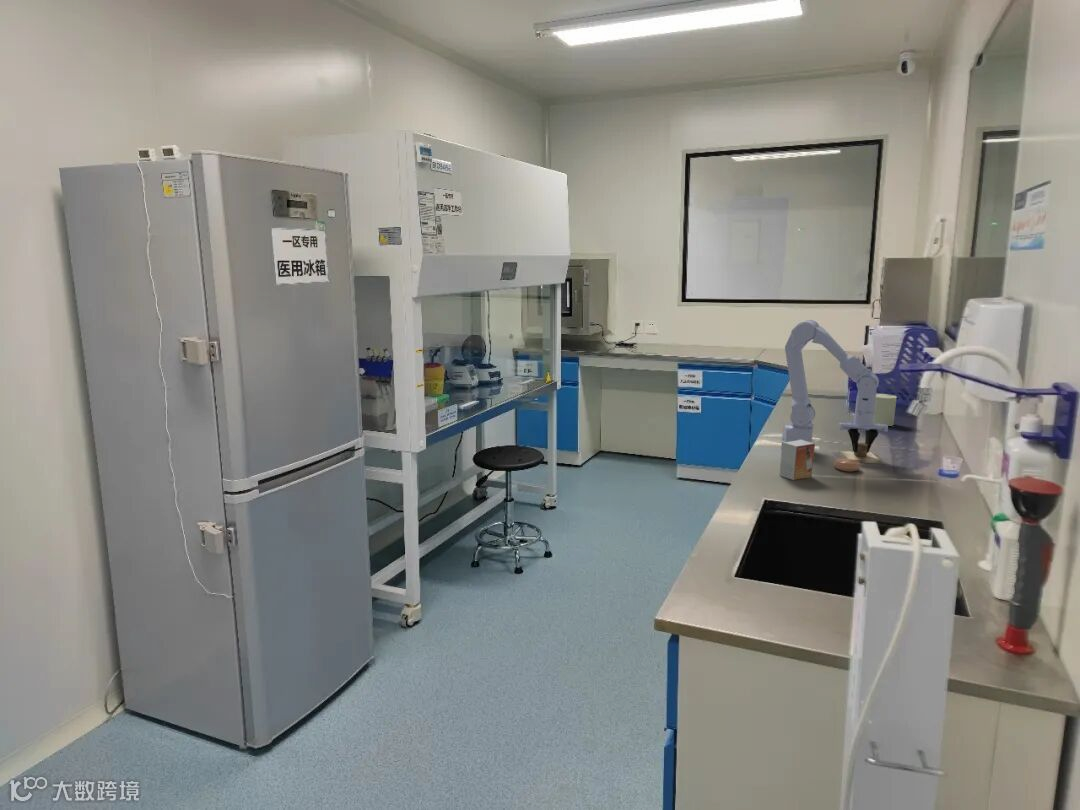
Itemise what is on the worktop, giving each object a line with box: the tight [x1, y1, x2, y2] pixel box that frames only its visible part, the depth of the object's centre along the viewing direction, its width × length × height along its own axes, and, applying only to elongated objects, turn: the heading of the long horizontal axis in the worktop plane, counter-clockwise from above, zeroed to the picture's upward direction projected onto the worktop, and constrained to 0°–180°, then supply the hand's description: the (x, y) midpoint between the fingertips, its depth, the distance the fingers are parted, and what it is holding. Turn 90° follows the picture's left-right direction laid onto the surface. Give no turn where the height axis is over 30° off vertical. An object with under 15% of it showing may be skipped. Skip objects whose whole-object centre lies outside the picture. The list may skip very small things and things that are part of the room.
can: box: [874, 393, 898, 427], centre depth 274 cm, size 9×9×12 cm
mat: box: [831, 451, 890, 466], centre depth 225 cm, size 14×12×1 cm
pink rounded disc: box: [834, 458, 861, 473], centre depth 213 cm, size 7×7×3 cm
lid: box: [838, 442, 882, 463], centre depth 225 cm, size 10×10×5 cm
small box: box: [779, 440, 816, 481], centre depth 207 cm, size 8×6×10 cm
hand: (860, 451), depth 225 cm, fingers closed on lid, 3 cm apart
